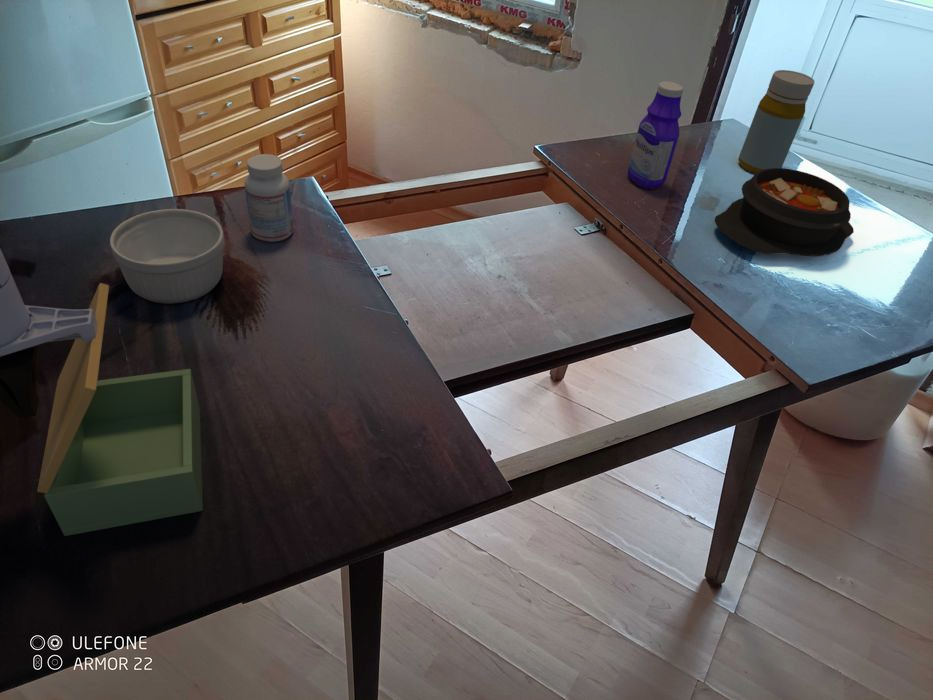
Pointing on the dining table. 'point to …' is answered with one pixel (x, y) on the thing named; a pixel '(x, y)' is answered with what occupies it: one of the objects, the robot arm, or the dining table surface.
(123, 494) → the green open cubby
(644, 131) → the bottle
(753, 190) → the casserole
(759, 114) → the bottle
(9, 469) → the dining table surface
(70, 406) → the yellow box lid
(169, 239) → the ramekin
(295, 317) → the dining table surface
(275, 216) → the pill bottle
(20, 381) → the robot arm
